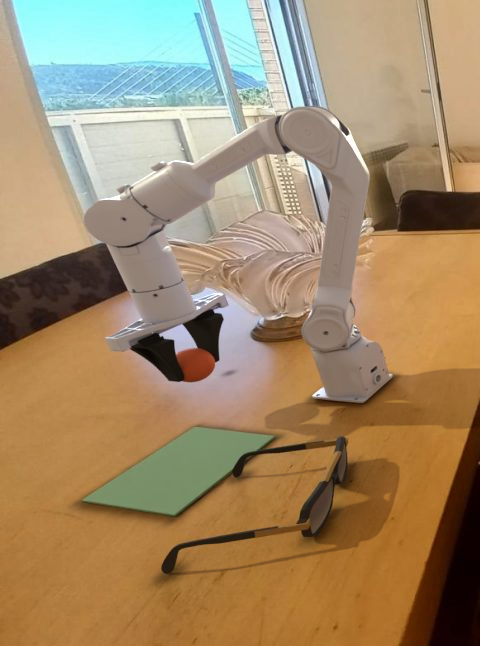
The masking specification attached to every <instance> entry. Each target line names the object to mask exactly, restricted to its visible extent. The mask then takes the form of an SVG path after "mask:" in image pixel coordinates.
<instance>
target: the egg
mask: <svg viewBox="0 0 480 646" xmlns="http://www.w3.org/2000/svg"><path fill="white" fill-rule="evenodd" d="M176 357H177V360H178V363H179V365H180V367H181V369H182V371H183V374H184V380H183V381H182V382H184V383H197V382H202V381H203V380H205V379H207V378H208V377H209V376H211V374H212V373H213V372H214V371H215V368H216V362H215V359H214V357H213V356H212V354H210V353H209V352H208V351H206V350H204V349H200V348H197V347H190V348H185V349H182V350H180V351H179V352H176Z"/></svg>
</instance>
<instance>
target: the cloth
mask: <svg viewBox="0 0 480 646" xmlns="http://www.w3.org/2000/svg"><path fill="white" fill-rule="evenodd" d="M275 438H276V436H275V435H268V434H261V433H253V432H252V433H251V432H244V431H234V430H226V429H219V428H218V429H217V428H210V427H209V428H208V427H200V426H194V427H192V428H190V429H189V430H187V431H186V432H184V433H183V434H181V435H179V436H178V437H177V438H175V439H173V440H172V441H170V442H169V443H167V444H166V445H164V446H163V447H161V448H159V449H158V450H156V451H155V452H153V453H152V454H151V455H149V456H147V457H146V458H144V459H142V460H141V461H139V462H138V463H137V464H135V465H133V466H132V467H130V468H128V469H127V470H125V471H124V472H122V473H120V474H119V475H118V476H116V477H115V478H113V479H111V480H110V481H109V482H107V483H106V484H104V485H102V486H100V487H99V488H98V489H96V490H94V491H93V492H92V493H90V494H89V495H87V496H86V497H84V498H82V499H81V502H82V503H87V504H93V505H99V506H106V507H113V508H120V509H125V510H131V511H139V512H142V513H143V512H144V513H149V514H150V513H151V514H157V515H163V516H170V517H177V516H178V515H180V514H181V513H182V512H183V511H184V510H186V509H187V508H189V506H191V505H192V504H194V503H195V502H196V501H197V500H198V499H199V498H200V497H202V496H204V495H205V494H206V493H207V492H208V491H210V490H211V489H212V488H214V487H215V486H216V485H218V484H219V483H220V482H221V481H222V480H224V479H226V477H228V476H229V475H230V474H232V470H233V468H234V466H235V464H236V463H237V461H238V460H239V458H240V457H241V456H242V455H243V454H245V453H247V452H252V451H257V450H262V449H263V448H264V447H265V446H266V445H268V444H269V443H270V442H272V441H273V440H274V439H275ZM251 457H252V456H249V457H247V458H246V460H245V462H246V461H248V460H249V459H250V458H251Z"/></svg>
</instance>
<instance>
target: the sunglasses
mask: <svg viewBox="0 0 480 646" xmlns="http://www.w3.org/2000/svg"><path fill="white" fill-rule="evenodd" d="M348 444H349V437H346V436H343V435H340V436H337V438H333V439H327V440H326V439H325V440H318V441H310V442H303V443H302V442H301V443H295V444H289V445H282V446H277V447H271V448H270V447H269V448H264V449H263V448H262V449H260V450H257V451H252V452H247V453H245V454H243V455H242V456H241V457H240V458H239V460H238V461H237V463H236V464H235V466H234V468H233V470H232V472H231V474H232V476H233V477H234V478H239V477H241V475H242V474H243V472H244V468H245V464H246V461H247V460H246V458H247V457H249V456H251V457H254V456H259V455H267V454H269V455H270V454H283V453H291V452H299V451H305V450H306V451H307V450H313V449H314V450H315V449H321V448H328V447H334V451H333V454H332V456H331V459H330V461H329V462H328V464H327V466H326V468H325V471H324V473H323V475H322V477H321V479H320V481H319V482H318V483H317V485H316V486H315V488H314V489H313V491H312V492H311V493H310V495H309V496H308V498H307V499H306V500H305V502H304V503H303V505H302V506H301V508H300V511H299V516H298V520H297V521H296V522H295V523H289V524H288V523H287V524H282V525H275V526H269V527H263V528H256V529H251V530H246V531H245V530H244V531H239V532H234V533H233V532H232V533H227V534H223V535H222V534H221V535H217V536H212V537H206V538H200V539H196V540H191V541H186V542H182V543H178V544H176V545H174V546H173V547H172V548H171V549H170V550H169V552H168V553H167V555H166V556H165V557H164V560H163V562H162V564H161V567H160V569H161V572H162V573H163V574H165V575H169V574H171V573H173V571H174V570H175V567H176V564H177V559H178V555H179V552H180V551H181V550H183V549H187V548H194V547H198V546H205V545H206V546H207V545H218V544H227V543H233V542H238V541H244V540H249V539H257V538H264V537H268V536H269V537H270V536H275V535H276V536H277V535H282V534H287V533H294V532H298V531H300V532H301V535H302V537H303V538H314V537H315V536H318V534H319V533H320V532H321V530H323V528H324V526H325V524H326V523H327V521H328V519H329V517H330V514H331V512H332V508H333V504H334V496H335V487H336V486H337V485H343V484H344V482H345V480H346V476H347V471H348V449H347V446H348ZM245 460H246V461H245Z"/></svg>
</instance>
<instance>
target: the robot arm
mask: <svg viewBox="0 0 480 646" xmlns="http://www.w3.org/2000/svg"><path fill="white" fill-rule="evenodd" d="M292 152H293V153H294V154H296V155H298V156H299V157H301V158H303V159H304V160H305V161H308V162H309V163H311V164H313V165H315V167H316V168H317V170H319V172H320V173H321V174H322V175H323V176H324V177H325V178H326V179H327V180H328V181H329V182H330V184H331V188H330V195H329V202H328V208H327V216H326V223H325V230H324V236H323V244H322V250H321V258H320V264H319V272H318V278H317V285H316V290H315V294H314V299H313V302H312V305H311V308H310V312H309V314H308V316H307V318H306V319H305V321H304V322H303V324H302V326H301V329H300V330H301V332H300V333H301V337H302V339H303V341H304V342H305V344H306V345H308V347H310V351H311V353H312V357H313V359H314V363H315V366H316V369H317V372H318V375H319V377H320V381H321V384H322V387H321V388H320V389H318V390H317V391H316V392H314V393H313V394H312V395H311V398H312V399H314V400H323V401H324V400H325V401H336V402H346V403H354V404H363V403H365V402H367V401H368V400H369V399H370V398H371V397H372V396H374V395H375V394H376V393H377V392H378V391H379V390H380V389H381V388H383V386H384V385H386V384H387V383H388V382H389V381H390V380H391V379H392V378H393V377H394V375H393V373H389V369H388V366H387V362H386V358H385V354H384V351H383V348H382V346H381V345H380V344H379V343H378V342H376V341H373V340H371V339H368V338H366V337H364V336H363V334H362V333H361V330H360V329H359V328H358V326H356V325H355V324H354V323H353V320H354V318H355V317H356V312H357V310H356V304H354V301H353V287H354V286H353V285H354V278H355V273H356V266H357V260H358V254H359V247H360V241H361V235H362V229H363V222H364V217H365V212H366V211H365V210H366V204H367V199H368V191H369V185H370V180H371V175H370V171H369V169H368V166H367V164H366V163H365V160H364V159H363V157H362V154H361V152H360V150H359V148H358V146H357V144H356V142H355V140H354V137H353V135H352V132H351V130H350V129H349V127H348V126H347V125H345V123H344V122H343V121H342V120H341V119H340V118H339V116H337V115H336V114H335V113H334V112H333V111H331V110H329V109H328V108H326V107H323V106H319V105H307V106H295V107H291V108H290V109H288V110H286V111H285V112H283V114H277V115H274V116H272V117H271V116H270V117H269V118H266V119H264V120H261V121H258V122H256V123H254V124H252V125H251V126H249V127H248V128H246V129H244V130H243V131H242V132H240V133H238V134H236V135H235V136H234V137H232V138H230V139H228V141H226V142H224V143H222V144H221V145H220V146H218V147H216V148H215V149H213V150H212V151H210V152H209V153H207V154H205V155H204V156H202V157H201V158H199V159H198V160H196V161H195V162H187V161H181V160H172V161H170V162H166V161H164V160H163V161H159V162H157V163H155V164H153V165H152V166H150V169H151V170H152V172H151V173H150V174H148V175H147V176H145V177H143V178H141V179H139V180H137V181H136V182H135V183H133V184H131V185H130V184H128V183H125V184H122V185H120V186H119V187H117V188H116V191H117V192H118V195H116V196H113V197H111V198H103V199H99V200H95V201H94V202H93V204H92V205H91V206H90V207H89V208H88V209H87V210H86V211H85V213H84V216H83V223H84V226H85V228H86V230H87V231H88V233H89V234H90V235H91V237H93V238H95V239H96V240H98V241H99V242H101V243H103V244H105V245H106V247H107V249H108V251H109V253H110V256H111V258H112V260H113V263H114V264H115V265H116V266H115V267H116V268H117V270H118V273H119V274H120V277H121V280H122V281H123V284H124V285H125V287H126V289H127V292H128V293H129V295H130V297H131V299H132V302H133V304H134V305H135V308H136V310H137V312H138V314H139V316H140V319H138V320H136V321H134V322H133V323H131V324H129V325H127V326H126V327H124V328H122V329H120V330H119V331H117V332H115V333H113V334H111V335H107V336H106V337H104V340H105V342H106V344H107V346H108V348H109V350H110V351H111V352H117V353H118V352H120V353H125V352H126V351H128V350H130V351H132V352H134V353H135V354H137V355H139V356H140V357H142V358H144V360H146V361H147V362H149V363H150V364H152V365H153V366H154V367H155V368H156V369H157V370H158V371H159V372H160V373H161V374H162V375H163V376H164V377H165V378H166V379H167V381H168V382H172V383H173V382H175V383H181V382H183V380H184V374H183V371H182V369H181V367H180V365H179V363H178V360H177V357H176V354H177V352H176V348H175V347H176V346H175V340H174V339H172V338H171V339H170V338H165V337H164V335H161V334H163V333H165V332H167V331H170V330H171V329H174V328H176V327H179V326H181V325H182V326H183V327H184V328H185V329H186V331H187V332H188V334H189V335H190V336H191V339H192V340H193V341H194V343H195V345H196V348H200V349H204V350H206V351H208V352H209V353H210V354H212V356H213V357H214V359H215V363H218V362H220V344H219V343H220V334H221V329H222V325H223V323H224V320H225V319H224V316H223V314H222V313H220V312H215V311H216V310H217V309H223V308H227V307H229V306H230V305H229V301H228V299H227V297H226V294H225V293H212V294H209V295H206V296H204V297H201V298H197V299H193V296H192V294H191V291H190V289H189V287H188V284H187V282H186V280H185V277H184V275H183V273H182V271H181V268H180V265H179V263H178V261H177V258H176V256H175V254H174V251H173V249H172V247H171V245H170V242H169V240H168V238H167V236H166V233H165V229H166V227H167V225H171V224H173V223H174V222H176V221H178V220H179V219H181V218H183V217H184V216H186V215H187V214H189V213H191V212H192V211H194V210H196V209H197V208H199V207H201V206H202V205H204V204H206V203H207V202H210V201H211V200H213V199H214V198H215V194H216V184H217V183H218V182H220V181H221V180H224V179H225V178H227V177H229V176H230V175H232V174H235V173H236V172H237V171H240V170H241V169H243V168H244V167H246V166H248V165H250V164H252V163H254V162H255V161H258V160H260V159H261V158H263V157H264V156H266V155H287V154H289V153H292Z"/></svg>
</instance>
